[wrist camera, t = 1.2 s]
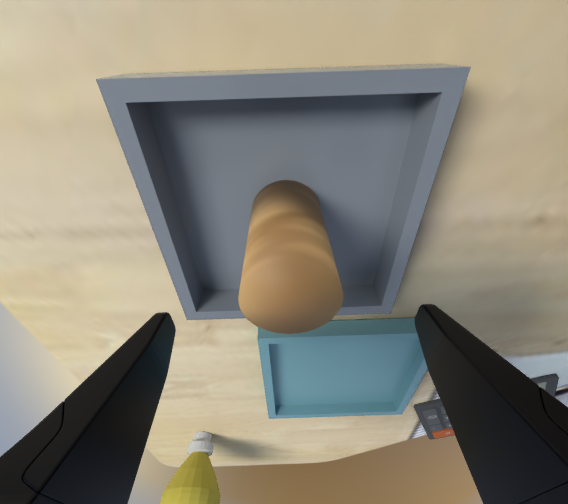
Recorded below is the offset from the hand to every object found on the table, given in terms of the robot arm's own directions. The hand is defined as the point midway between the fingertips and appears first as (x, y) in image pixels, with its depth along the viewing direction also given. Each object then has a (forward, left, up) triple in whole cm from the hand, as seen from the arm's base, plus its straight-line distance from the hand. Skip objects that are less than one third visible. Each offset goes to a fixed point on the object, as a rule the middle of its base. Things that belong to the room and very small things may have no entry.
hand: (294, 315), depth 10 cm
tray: (-5, +18, -8) cm, 20 cm away
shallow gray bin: (0, 0, -8) cm, 8 cm away
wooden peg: (0, 0, -8) cm, 8 cm away
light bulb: (+12, +34, -8) cm, 37 cm away
